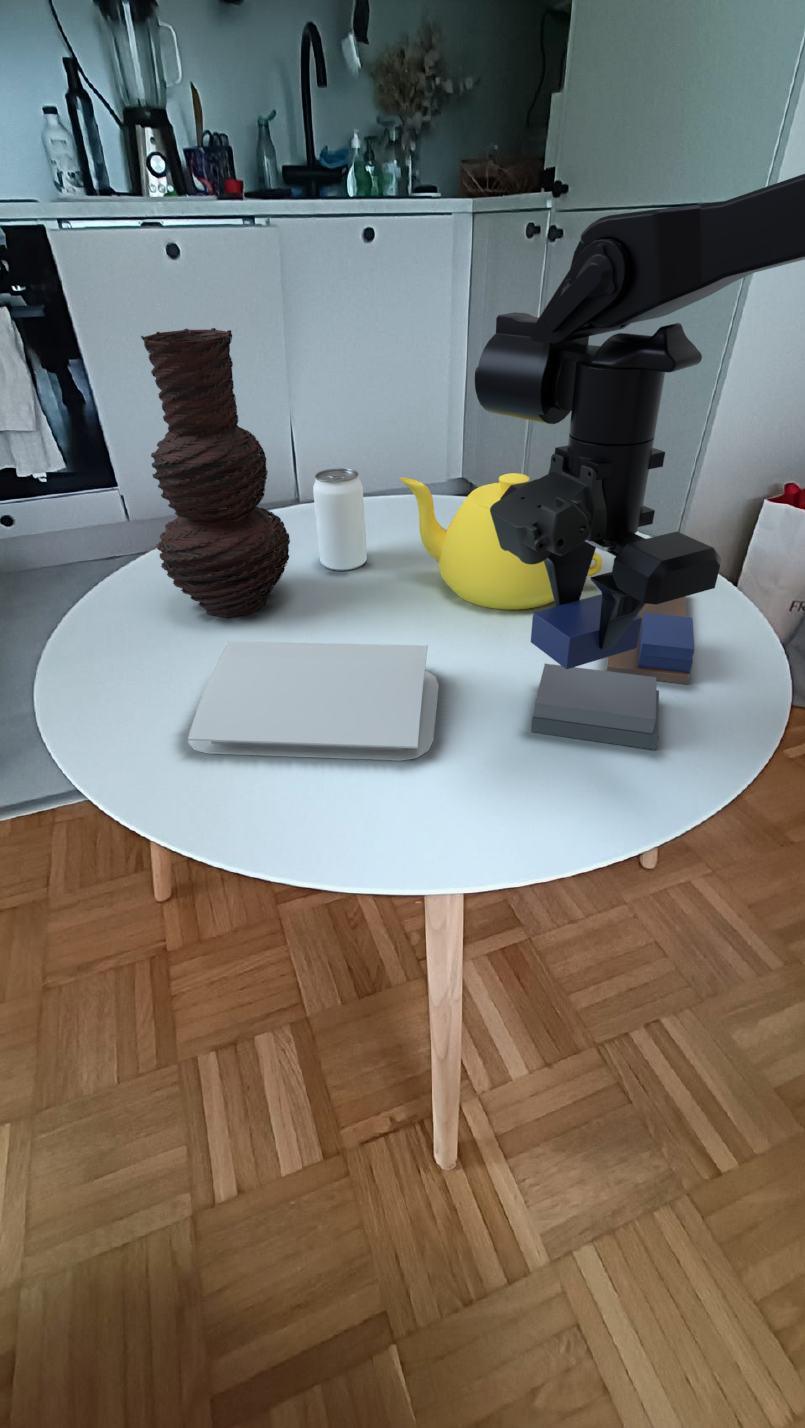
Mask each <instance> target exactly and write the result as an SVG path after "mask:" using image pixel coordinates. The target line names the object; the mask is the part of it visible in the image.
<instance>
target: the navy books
mask: <svg viewBox="0 0 805 1428" xmlns="http://www.w3.org/2000/svg"><path fill="white" fill-rule="evenodd" d="M693 621H694V620H693V617H690V616H687V617H682V616H672V615H662V614H652V613H644V615H643V620H642V625H641V630H640V638H639V656H638V667H641V668H650V669H658V670H666V671H674V672H683V673H690V674H691V670H692V666H693V657H694V653H695V638H694V622H693Z"/></svg>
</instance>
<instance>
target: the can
mask: <svg viewBox="0 0 805 1428" xmlns="http://www.w3.org/2000/svg"><path fill="white" fill-rule="evenodd" d="M314 478H315V481H314V484H313V487H312V492H313V501H314V502H313V503H314V513H315V524H316V534H317V543H318V551H319V552H318V553H319V561H320V563H321V565H323V567H324V568H326V569H328V570H331V571H336V572H344V571H346V572H347V571H353V570H356V569H359V568H360V567H362V566H363V565H364V564H365V563H366V562H367V559H368V551H367V550H368V549H367V534H366V517H365V502H364V489H363V484H362V482H361V479H360V478H359V472H358V471H357V470H355V469H351V468H345V467H333V468H327V469H323V470H320V471H318V472H316V473H315V475H314Z"/></svg>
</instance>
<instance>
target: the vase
mask: <svg viewBox="0 0 805 1428" xmlns="http://www.w3.org/2000/svg"><path fill="white" fill-rule="evenodd" d="M140 339H141V340H142V341H143V346H144V348H145V350H146V351H147V353H148V360H149V362H150V364H151V365H152V366H153V368H152V370H151V371H150V373H151V375H152V376H153V377H154V378H155V380H154V382H155V385H156V387H157V388H158V389H159V390H160V391H159V393H158V395H157V396H158V399H159V400H160V401H161V409H162V411H163V413H164V415H162V418H163V421H164V422H165V423H166V424H167V425H168V426H167V432H166V433H165V435H164V438H163V439H162V440H159V441H158V442H157V443H156V447H157V449H156V450H155V451H154V452H152V453H151V454H150V458H153V460H154V461H153V462H151V467H152V468H153V469H155V470H156V471H155V473H152V478H153V479H155V480H157V481H158V482H159V484H158V485H157V488H159V489H160V490H161V491H162V493H161V494H160V497H161V498H162V499H164V500H166V501H168V502H169V503H167V506H168V507H169V508H170V509H172V510H174V511H175V512H174V515H175V516H177V517H176V518H175V519H173V520H171V521H168V522H167V523H165V524H164V529H165V531H164V532H161V533H160V534H159V539H160V542H158V544H156V549H157V550H158V551H159V552H160V553H159V559H160V560H161V561H162V562H161V565H160V567H161V568H162V569H163V570H164V571H166V576H167V577H168V578H170V579H171V580H172V584H173V586H174V587H176V588H179V589H180V591H181V592H182V593H183V594H185V595H189V596H190V597H189V598H190V599H191V600H192V601H194V602H198V606H200V607H201V608H203V609H204V611H205V613H206V615H210V616H216V617H222V618H226V619H229V618H232V617H239V616H244V615H245V616H246V615H251V614H253V612H256V611H257V610H259V609H260V608H262V607H263V606H266V605H267V600H268V597H269V596H270V594H271V593H272V591H273V590H274V587H275V586H276V585H277V584H278V582H279V581H280V579H282V577H283V575H284V574H283V573H284V572H285V570H286V566H287V565H288V561H289V559H290V555H289V552H290V544H291V538H290V534H289V532H287V529H286V527H285V523H284V521H283V520H282V518H281V517H280V516H278V515H276V514H275V513H274V512H273V511H271V510H267V509H266V508H263V507H258V506H259V504H260V503H261V502H262V500H263V499H264V497H265V492H266V483H267V481H266V480H267V479H268V469H267V457H266V453H265V451H264V448H263V447H262V445H261V444H260V441H259V440H258V439H257V436H255V435H254V434H253V433H252V432H250V431H248V430H247V429H245V428H242V427H240V426H239V425H238V424H239V415H238V405H237V398H236V394H235V393H234V388H235V386H234V379H233V367H234V362H233V358H232V357H231V355H230V354H231V353H230V352H231V347H230V344H231V343H232V339H233V334H232V330H231V329H228V330H227V331H226V330H221V329H220V330H219V329H216V328H215V327H212V328H210V329H189V328H183V329H182V330H172V331H163V332H160V331H156V332H155V333H153V334H150V335H146V336H144V335H141V336H140Z"/></svg>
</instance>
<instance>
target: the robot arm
mask: <svg viewBox="0 0 805 1428" xmlns="http://www.w3.org/2000/svg"><path fill="white" fill-rule="evenodd" d="M579 237H580V240H579V241H578V243H577V246H576V247H575V250H574V252H573V255H572V259H571V264H570V268H569V270H568V272H567V273H566V275H565V276H564V278H563V279H562V281H561V282H560V284H559V286H558V287H557V288H556V291H555V292H554V294H553V295H552V297H551V298H550V300H549V301H548V303H547V304H546V306H545V307H544V309H543V311H542V313H541V314H540V316H538V317H537V316H534V315H531V314H529V313H525V312H510V313H503V314H498V315H497V317H496V318H495V322H496V323H495V333H494V334H493V335H492V337H490V339H488V341H487V343H486V344H485V346H484V348H483V350H482V353H481V355H480V357H479V361H478V365H477V367H476V368H475V370H474V391H475V395H476V398H477V400H478V403H479V404H480V406H481V407H482V408H483V410H485V411H487V412H489V413H491V414H496V415H501V416H505V417H512V418H517V419H522V420H527V421H533V422H538V423H543V424H548V425H556V424H559V423H561V422H562V421H563V420H565V419H566V417H567V416H568V415H569V414H570V422H569V434H568V442H567V445H562V446H557V447H554V453H552V454H551V457H550V464H549V469H548V473H547V474H545V475H544V476H541V477H540V478H536V479H533V480H530V481H529V482H525V483H520V484H515V485H510V487H509V488H508V489H507V491H506V492H505V493H504V494H503V496H502V497H501V498H500V500H499V501H497V502H496V503H494V504H493V505H492V506H491V508H490V513H491V517H492V520H493V523H494V527H495V530H496V533H497V537H498V540H499V544H500V547H501V548H502V549H503V550H504V551H509V552H511V553H512V554H514V555H515V556H517V557H518V558H519V559H520V560H521V561H522V562H523V563H525V564H531V565H532V564H538V563H540V562H543V561H544V563H545V567H546V570H547V573H548V577H549V581H550V585H551V589H552V593H553V597H554V601H553V602H554V605H555V606H559V605H562V604H566V603H570V602H574V601H578V600H581V597H582V594H583V593H582V592H583V590H584V587H585V584H586V580H587V578H588V576H587V575H588V571H589V568H590V566H592V561H593V556H594V552H596V550H597V549H598V550H601V551H603V552H607V553H608V554H610V555H612V556H614V558H613V564H612V569H611V571H610V572H606V573H602V574H598V575H597V574H596V575H592V576H590V581H591V582H592V583H593V585H594V586H596V587H597V589H599V591H600V592H601V594H602V603H601V615H600V627H599V648H600V649H602V650H607V649H610V648H612V647H613V646H614V645H615V644H616V642H617V641H618V640H619V638H620V637H621V636H622V634H623V633H624V632H625V630H626V629H627V628H628V626H629V625H630V624H631V623H632V621H633V620H634V619H635V617H636V616H637V615H638V613H639V612H640V611H641V609H642V608H643V607H644V606H645V604H655V605H657V604H660V603H664V602H667V601H671V600H674V599H678V598H682V597H685V596H686V597H688V596H692V595H695V594H699V593H703V592H706V591H710V590H713V589H715V588H716V584H717V582H718V577H719V572H720V568H721V562H722V561H721V560H722V557H721V556H720V554H719V553H718V552H717V550H716V549H715V547H713V546H710V545H709V544H706V543H704V542H701V541H700V540H697V539H696V538H692V537H690V536H688V535H687V534H684V533H682V532H679V531H673V532H669V533H663V534H659V535H656V536H652V537H648V538H645V537H643V536H641V535H639V534H637V533H638V531H639V528H642V527H646V526H649V525H653V524H654V517H655V513H656V510H655V509H652V508H650V507H648V506H645V505H644V502H645V496H646V490H647V484H648V479H649V473H650V470H654V469H658V468H663V467H664V462H665V457H666V451H664V450H661V449H658V448H655V447H654V442H655V437H656V436H655V435H656V430H657V424H658V419H659V413H660V406H661V401H662V400H661V399H662V394H663V390H664V389H663V388H664V382H665V376H666V373H668V374H669V373H673V372H677V371H680V370H685V369H688V368H691V367H694V366H697V365H699V364H700V363H701V362H702V359H703V354H702V352H701V350H699V349H698V348H697V347H696V346H695V344H694V343H693V342H692V341H691V340H690V339H689V338H688V337H687V335H686V333H685V331H684V328H683V325H682V323H679V322H676V323H672V324H667V325H662V326H660V327H659V328H658V329H657V330H656V331H655V333H654V334H652V335H646V334H636V333H626V332H625V333H624V332H620V333H619V332H618V333H615V334H612V335H610V336H609V337H608V338H607V339H606V340H605V341H604V342H603V343H602V344H601V345H594V344H593V345H592V344H589V341H590V337H592V336H596V335H597V336H598V335H602V334H606V333H607V334H608V333H610V332H616V331H620V330H624V329H625V328H627V327H628V326H630V325H631V324H635V323H640V322H644V321H645V322H646V321H648V320H649V321H650V320H655V319H659V318H662V317H665V316H668V315H670V314H672V313H675V312H676V311H678V310H679V311H680V310H681V309H683V308H685V307H688V306H691V305H692V304H694V303H696V302H699V301H701V300H703V299H705V298H708V297H710V296H712V295H713V294H715V293H717V292H719V291H720V290H722V289H725V288H726V287H728V286H730V285H731V284H734V283H735V282H737V281H739V280H741V279H743V278H746V277H749V276H750V275H752V274H755V273H758V272H762V271H766V270H770V269H774V268H777V267H781V266H786V265H789V264H793V263H796V262H797V263H798V262H800V261H804V260H805V173H802V174H800V175H796V176H794V177H791V178H788V179H785V180H782V181H779V182H776V183H773V184H770V185H768V186H764V187H762V188H759V189H756V190H753V191H750V192H747V193H744V194H741V195H739V196H736V197H733V198H729V199H727V200H721V201H717V202H715V201H714V202H707V203H701V204H691V205H683V206H672V207H663V208H655V209H648V210H647V209H646V210H639V211H632V212H624V213H616V214H610V215H606V216H603V217H600V218H598V219H596V220H595V221H593V222H591V223H590V224H589V225H588V226H587V227H586V228H585V229H584V230H583V231H582V232H581V234H580V236H579ZM555 606H554V607H555Z"/></svg>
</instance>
